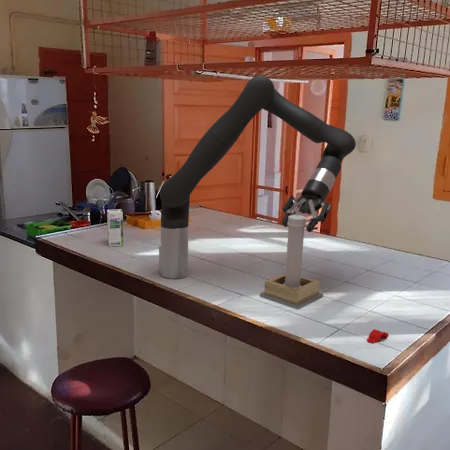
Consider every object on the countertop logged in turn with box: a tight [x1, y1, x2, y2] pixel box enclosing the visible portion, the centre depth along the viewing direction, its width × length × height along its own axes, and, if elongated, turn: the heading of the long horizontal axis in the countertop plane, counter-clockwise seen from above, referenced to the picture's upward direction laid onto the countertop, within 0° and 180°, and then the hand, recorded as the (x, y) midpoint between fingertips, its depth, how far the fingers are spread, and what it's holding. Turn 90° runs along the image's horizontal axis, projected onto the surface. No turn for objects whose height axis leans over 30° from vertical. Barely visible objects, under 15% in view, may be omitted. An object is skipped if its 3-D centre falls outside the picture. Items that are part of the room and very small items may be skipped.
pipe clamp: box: [366, 328, 389, 344], centre depth 129 cm, size 8×3×2 cm, turn 131°
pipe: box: [284, 200, 307, 289], centre depth 151 cm, size 6×6×30 cm
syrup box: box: [106, 208, 124, 247], centre depth 204 cm, size 6×6×14 cm
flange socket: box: [259, 272, 324, 310], centre depth 154 cm, size 14×14×5 cm
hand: (296, 228), depth 150 cm, fingers open, 8 cm apart
